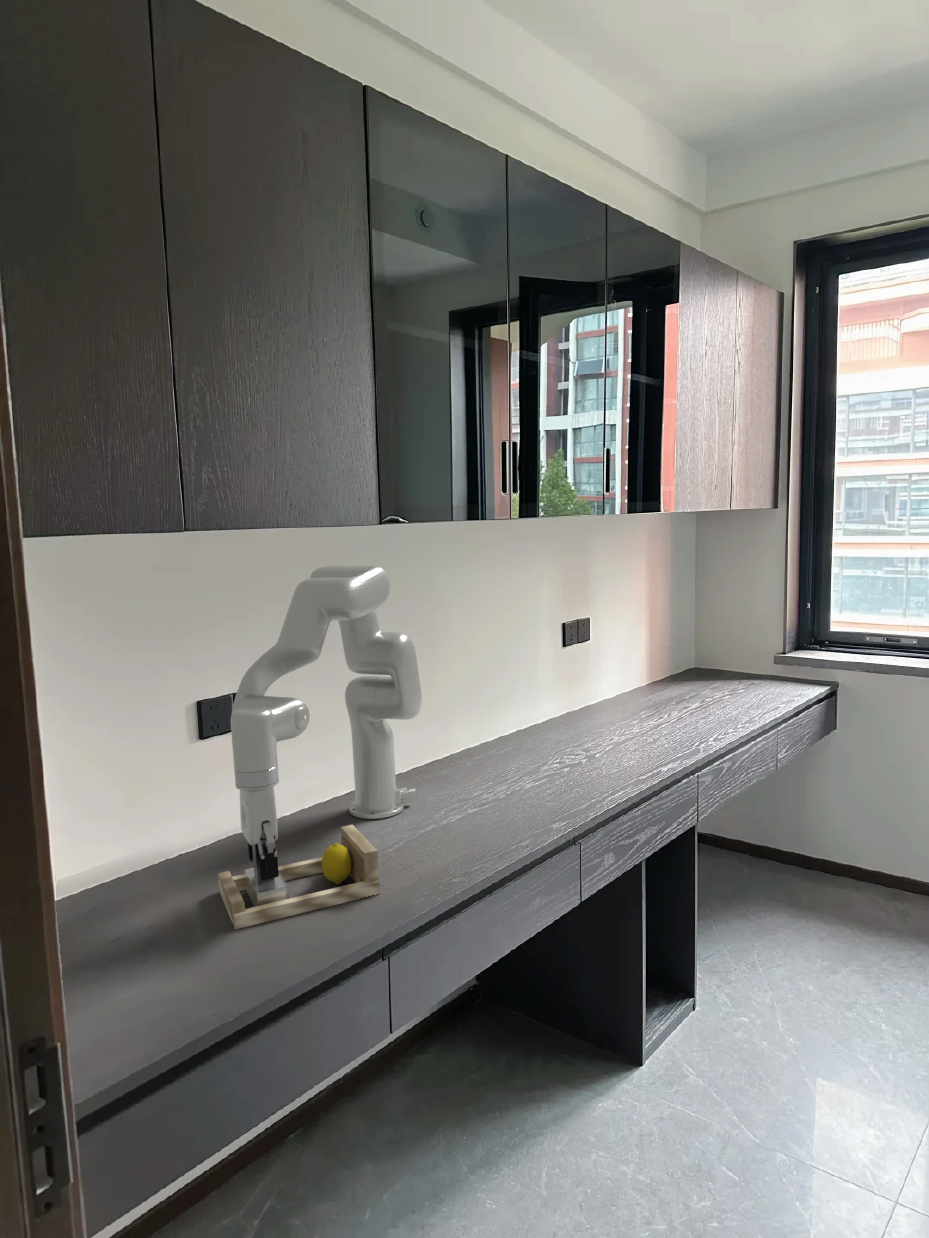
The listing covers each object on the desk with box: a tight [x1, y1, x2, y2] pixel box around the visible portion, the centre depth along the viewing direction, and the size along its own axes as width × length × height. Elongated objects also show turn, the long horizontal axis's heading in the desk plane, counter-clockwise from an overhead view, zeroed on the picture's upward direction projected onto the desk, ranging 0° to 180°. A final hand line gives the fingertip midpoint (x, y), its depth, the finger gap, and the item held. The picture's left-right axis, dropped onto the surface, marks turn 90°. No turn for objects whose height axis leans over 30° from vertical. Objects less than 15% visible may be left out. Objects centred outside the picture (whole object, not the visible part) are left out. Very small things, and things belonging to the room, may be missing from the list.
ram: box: [244, 838, 290, 907], centre depth 152 cm, size 6×11×12 cm, turn 25°
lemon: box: [322, 842, 352, 885], centre depth 158 cm, size 6×6×8 cm
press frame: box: [217, 824, 381, 930], centre depth 155 cm, size 26×16×8 cm, turn 115°
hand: (263, 867), depth 152 cm, fingers open, 9 cm apart
